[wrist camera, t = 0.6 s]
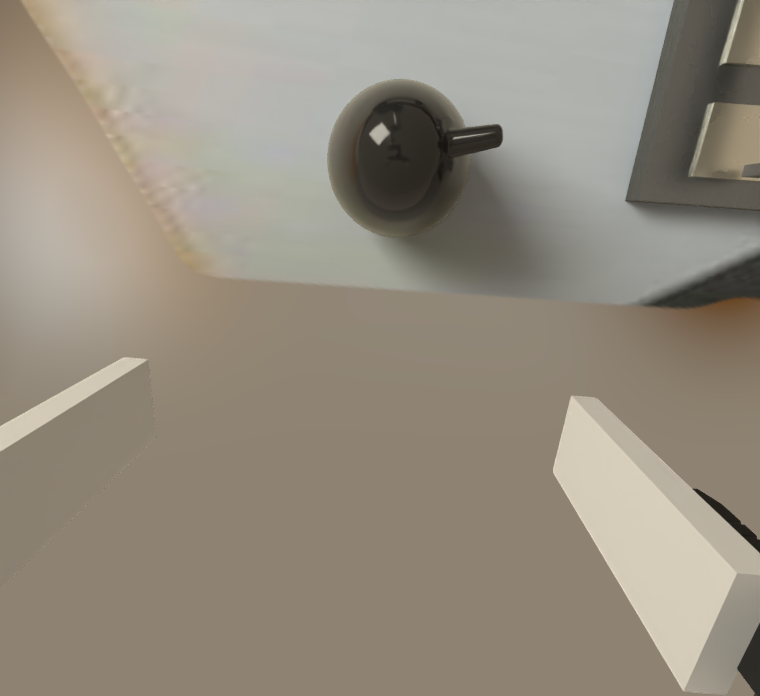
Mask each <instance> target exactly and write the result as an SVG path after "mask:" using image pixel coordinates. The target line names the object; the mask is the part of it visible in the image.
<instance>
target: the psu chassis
mask: <svg viewBox="0 0 760 696" xmlns="http://www.w3.org/2000/svg"><path fill="white" fill-rule="evenodd" d="M757 163H760V0H674V4H673V8H672V12H671V16H670V21H669V25H668V29H667V33H666V37H665V41H664V45H663V49H662V53H661V57H660V61H659V65H658V70H657V74H656V78H655V82H654V86H653V90H652V94H651V98H650V102H649V106H648V110H647V114H646V119H645V123H644V127H643V131H642V135H641V139H640V143H639V147H638V151H637V155H636V159H635V163H634V167H633V172H632V176H631V180H630V184H629V188H628V192H627V196H626V200H625V201H638V202H651V203H664V204H677V205H690V206H703V207H716V208H729V209H742V210H755V211H760V178H749V177H741V175H742V172H743V169H744V166H745V165H749V164H757Z"/></svg>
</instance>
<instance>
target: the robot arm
mask: <svg viewBox="0 0 760 696" xmlns="http://www.w3.org/2000/svg"><path fill="white" fill-rule="evenodd" d="M155 438H156V427H155V418H154V408H153V398H152V389H151V379H150V369H149V360H148V359H139V358H127V357H124V358H122V359H120V360H118V361H116V362H115V363H113V364H111V365H109V366H107V367H105V368H104V369H102V370H100V371H98V372H97V373H95V374H93V375H91V376H89V377H88V378H86V379H84V380H82V381H80V382H79V383H77V384H75V385H73V386H72V387H70V388H68V389H66V390H64V391H63V392H61V393H59V394H57V395H56V396H54V397H52V398H50V399H48V400H46V401H45V402H43V403H41V404H39V405H38V406H36V407H34V408H32V409H30V410H29V411H27V412H25V413H23V414H21V415H20V416H18V417H16V418H14V419H13V420H11V421H9V422H7V423H5V424H4V425H2V426H0V589H1V588H2V587H3V586H4V585H5V584H6V583H7V582H8V581H9V580H10V579H11V578H12V577H13V576H14V575H15V574H16V573H17V572H18V571H19V570H20V569H21V568H22V567H23V566H25V564H26V563H28V561H30V560H31V559H32V558H33V557H34V556H35V555H36V554H37V553H38V552H39V551H40V550H41V549H42V548H43V547H44V546H45V545H46V544H47V543H48V542H49V541H50V540H51V539H52V538H53V537H54V536H55V535H56V534H57V533H58V532H60V531H61V529H63V528H64V527H65V526H66V525H67V524H68V523H69V522H70V521H71V520H72V519H73V518H74V517H75V516H76V515H77V514H78V513H79V512H80V511H81V510H82V509H83V508H84V507H85V506H86V505H87V504H88V503H89V502H90V501H91V500H92V499H93V498H94V497H95V496H96V495H98V494H99V493H100V492H101V491H102V490H103V489H104V488H105V487H106V486H107V485H108V484H109V483H110V482H111V481H112V480H113V479H114V478H115V477H116V476H117V475H118V474H119V473H120V472H121V471H122V470H123V469H124V468H125V467H126V466H127V465H128V464H130V463H131V461H132V460H133V459H134V458H136V457H137V456H138V455H139V454H140V453H141V452H142V451H143V450H144V449H145V448H146V447H147V446H148V445H149V444H150V443H151V442H152V441H153V440H154V439H155ZM553 473H554V475H555V476H556V478H557V480H558V481H559V483H560V485H561V487H562V488H563V490H564V492H565V493H566V495H567V497H568V498H569V500H570V502H571V503H572V505H573V507H574V508H575V510H576V512H577V513H578V515H579V517H580V519H581V520H582V522H583V523H584V525H585V527H586V529H587V530H588V532H589V534H590V535H591V537H592V539H593V540H594V542H595V544H596V545H597V547H598V549H599V550H600V552H601V554H602V555H603V557H604V559H605V561H606V562H607V564H608V565H609V567H610V569H611V571H612V572H613V574H614V576H615V577H616V579H617V581H618V582H619V584H620V586H621V587H622V589H623V591H624V592H625V594H626V596H627V597H628V599H629V601H630V602H631V604H632V606H633V608H634V609H635V611H636V613H637V614H638V616H639V617H640V619H641V621H642V623H643V624H644V626H645V628H646V629H647V631H648V633H649V634H650V636H651V638H652V639H653V641H654V643H655V644H656V646H657V648H658V649H659V651H660V653H661V655H662V656H663V658H664V660H665V661H666V663H667V665H668V666H669V668H670V670H671V671H672V673H673V675H674V676H675V678H676V680H677V681H678V683H679V685H680V686H681V688H682V690H683V691H684V692H696V693H706V694H718V695H726V694H727V692H728V690H729V688H730V686H731V684H732V682H733V680H734V678H735V676H736V674H737V672H738V671H739V672H740V673H741V674H742V676H743V677H744V679H745V680H746V681H747V683H748V684H749V685H750V687H751V688H752V690H753V691H754V692H755V694H754V696H760V540H758V539H757V536H756V535H755V534H754V533H753V532H752V531H750V529H748V528H747V527H746V526H745V525H741V522H740V520H739V519H737V518H736V517H735V516H734V515H733V514H732V513H731V512H730V511H729V510H727V509H726V508H725V507H724V506H723V505H722V504H720V503H719V502H717V501H716V500H714V499H713V498H711V497H709V496H708V495H706V494H705V493H703V492H701V491H700V490H698V489H692V488H691V487H690V486H689V485H687V484H686V483H685V482H684V481H683V480H682V479H681V478H680V477H679V476H678V475H677V474H676V473H675V472H674V471H673V470H672V469H671V468H670V467H669V466H667V465H666V464H665V463H664V462H663V461H662V460H661V459H660V458H659V457H658V456H657V455H656V454H655V453H654V452H653V451H652V450H651V449H649V447H648V446H646V445H645V444H644V443H643V442H642V441H641V440H640V439H639V438H638V437H637V436H636V435H635V434H634V433H633V432H632V431H631V430H630V429H629V428H628V427H626V426H625V425H624V424H623V423H622V422H621V421H620V420H619V419H618V418H617V417H616V416H615V415H614V414H613V413H612V412H611V411H609V409H608V408H606V407H605V406H604V405H603V404H602V403H601V402H600V401H599V400H598V399H597V398H593V397H582V396H571V399H570V403H569V407H568V411H567V415H566V419H565V423H564V427H563V431H562V436H561V439H560V443H559V448H558V452H557V456H556V460H555V464H554V468H553Z"/></svg>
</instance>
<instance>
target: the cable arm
mask: <svg viewBox="0 0 760 696" xmlns="http://www.w3.org/2000/svg"><path fill="white" fill-rule="evenodd" d="M741 177H749V178H760V163H757V164H749V165H745V166H744V169H743V172H742V175H741Z"/></svg>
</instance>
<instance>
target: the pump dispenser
mask: <svg viewBox="0 0 760 696" xmlns="http://www.w3.org/2000/svg"><path fill="white" fill-rule="evenodd" d="M502 141H503V130H502V127H501V126H500V125H499V124H493V125H484V126H475V127H465V124H464V122H463V120H462V117H461V116H460V114H459V112H458V111H457V109H456V108H455V106H454V105H453V104H452V103H451V102H450V101H449V99H447V98H446V97H445V96H444V95H443V94H442V93H441V92H439V91H438V90H436V89H435V88H433V87H431V86H429V85H427V84H424V83H421V82H418V81H414V80H408V79H394V80H387V81H383V82H380V83H377V84H374V85H372V86H370V87H368V88H366V89H365V90H363V91H362V92H360V93H359V94H358V95H356V96H355V97H354V98H353V99H352V100H351V101H350V102H349V103H348V104H347V105H346V107H345V108H344V109H343V111H342V112H341V114H340V115H339V117H338V119H337V121H336V123H335V125H334V127H333V130H332V133H331V136H330V140H329V145H328V154H327V164H328V173H329V178H330V182H331V186H332V189H333V191H334V194H335V196H336V198H337V200H338V202H339V203H340V205H341V207H342V208H343V209H344V211H345V212H346V213H347V214H348V215H349V216H350V217H351V218H352V219H353V220H354V221H355V222H356V223H357V224H359V225H360V226H362V227H363V228H365V229H367V230H369V231H371V232H373V233H376V234H379V235H382V236H387V237H408V236H413V235H416V234H419V233H422V232H424V231H427V230H429V229H430V228H432V227H434V226H435V225H437V224H438V223H439V222H441V221H442V220H443V219H444V218H445V217H446V216H447V215H448V214H449V213H450V212H451V210H452V209H453V208H454V207H455V205H456V204H457V202H458V200H459V199H460V197H461V195H462V193H463V190H464V188H465V185H466V182H467V179H468V175H469V170H470V160H471V154H472V153H476V152H480V151H484V150H488V149H492V148H497V147H499V146H500V145H501V144H502Z"/></svg>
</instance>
